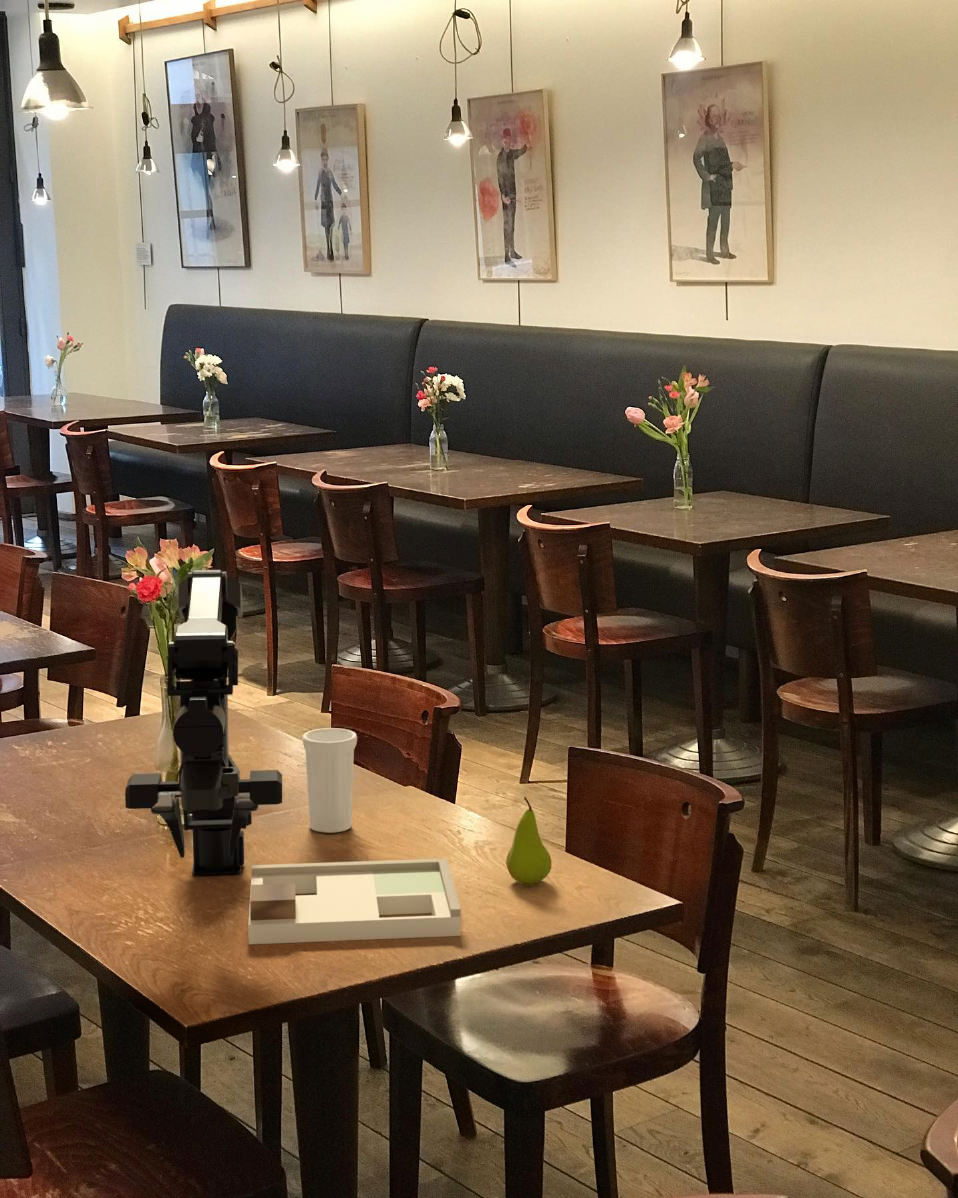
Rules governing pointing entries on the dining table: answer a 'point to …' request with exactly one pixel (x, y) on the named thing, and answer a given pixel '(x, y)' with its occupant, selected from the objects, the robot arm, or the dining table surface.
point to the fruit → (528, 852)
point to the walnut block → (273, 901)
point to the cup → (330, 778)
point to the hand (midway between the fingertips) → (207, 855)
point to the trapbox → (361, 901)
